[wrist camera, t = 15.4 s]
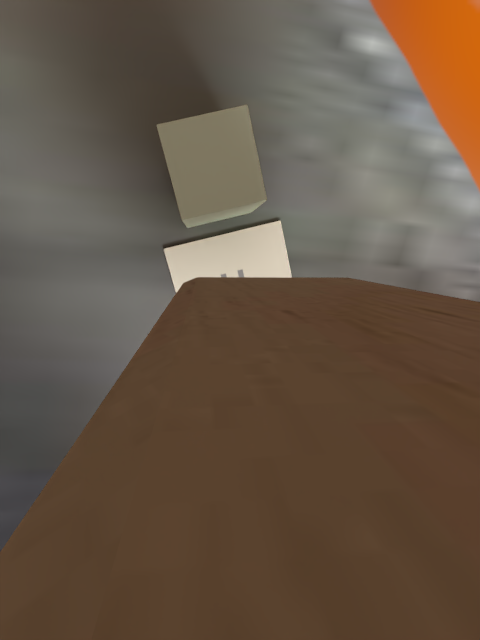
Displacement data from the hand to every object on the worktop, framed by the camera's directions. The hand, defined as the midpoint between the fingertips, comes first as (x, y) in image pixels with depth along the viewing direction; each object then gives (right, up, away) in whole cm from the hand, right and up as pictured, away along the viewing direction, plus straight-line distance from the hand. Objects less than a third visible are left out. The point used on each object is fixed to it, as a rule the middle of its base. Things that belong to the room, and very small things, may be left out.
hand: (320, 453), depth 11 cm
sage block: (-5, +16, +19) cm, 26 cm away
